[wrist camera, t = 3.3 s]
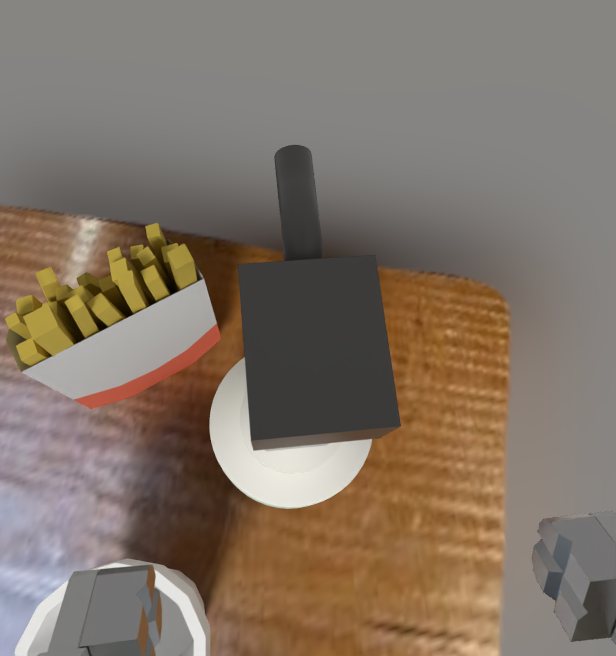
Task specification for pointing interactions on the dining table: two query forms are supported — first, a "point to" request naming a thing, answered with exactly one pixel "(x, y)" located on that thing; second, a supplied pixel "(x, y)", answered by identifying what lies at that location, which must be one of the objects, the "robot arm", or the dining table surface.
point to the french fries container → (116, 325)
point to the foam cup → (177, 616)
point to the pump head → (313, 332)
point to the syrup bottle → (276, 455)
